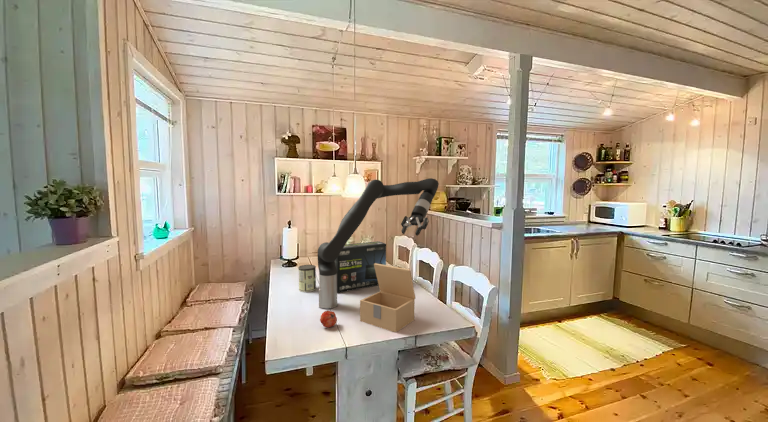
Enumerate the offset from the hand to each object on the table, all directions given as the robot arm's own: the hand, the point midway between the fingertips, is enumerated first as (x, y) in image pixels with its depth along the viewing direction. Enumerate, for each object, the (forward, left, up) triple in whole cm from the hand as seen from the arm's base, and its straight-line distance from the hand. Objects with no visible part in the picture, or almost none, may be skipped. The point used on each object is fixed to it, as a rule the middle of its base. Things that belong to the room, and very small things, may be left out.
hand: (409, 233), depth 166 cm
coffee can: (-58, +32, -39) cm, 77 cm away
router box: (-27, +37, -39) cm, 61 cm away
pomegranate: (-39, -20, -39) cm, 59 cm away
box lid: (-9, -10, -21) cm, 25 cm away
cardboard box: (-12, -15, -39) cm, 43 cm away
